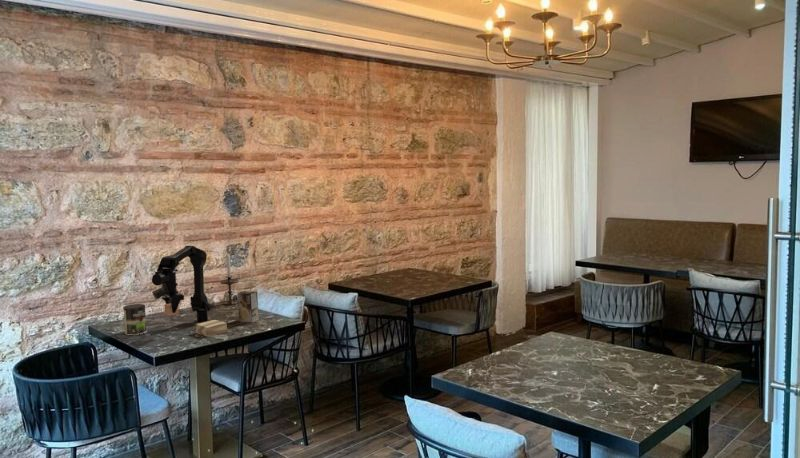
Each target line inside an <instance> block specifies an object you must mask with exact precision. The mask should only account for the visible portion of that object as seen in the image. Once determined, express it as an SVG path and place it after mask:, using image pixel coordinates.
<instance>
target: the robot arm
mask: <svg viewBox="0 0 800 458" xmlns="http://www.w3.org/2000/svg"><path fill="white" fill-rule="evenodd" d="M207 256H208V255H207V252H206V251H205V250H204V249H200V248H198V247H196V246H194V245H185V246H184V247H182V248H181V249H179V250H178V251H176V252H175V253H173V254H170V255H166V256H163V257H161V259H160V261H159V264H158V267H157V268H156V269H157V270H156V271H154V274H153V275H152V277H151V282H152V284H153V285H154V286H161V287H159V288H158V289H155V290H154V291H152V295H153V297H154V298H155V299H156V300H159V299H162V301H164V303H165V304H170V303H171V307H172V312H173V313H175V312H176V310H177V307H178V308H179V304H180V302H181V301H184V300H185V295H183V294H182V293H179V291H178V290H177V289H178V288H177V286H179V284H178V283H177V274H176V273H177V272H178V271H179V269H178V268H177V267H178V266H179V265H180V262H181V261H183V260H185V259H187V257H188V258H189V261H190V264H191V265H192V267H193V285H194V286H193V290H194V292H193V295H192V296H190V302H189V303H190V306H191V310H192V312H196V320H194V322H195V323H196V324H198V323H203V322H207V321H211V319H209V315H208V312H210V311H211V310H212V304H210V302H208V297H207V295H206V293H205V288H204V287H205V285H204V284H205V283H204V282H205V281H204V266H205V264H206V263H207V258H208V257H207Z"/></svg>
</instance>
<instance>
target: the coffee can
mask: <svg viewBox="0 0 800 458" xmlns="http://www.w3.org/2000/svg"><path fill="white" fill-rule="evenodd" d="M123 317H124V318H123V319H124V335H125V334H126V336H129V335H133V336H140V335H143V333H144V334H145V333H147V332H148V331H147V320H146V317H147V316H146V304H144V303H136V304H135V303H134V304H128V305H124V306H123ZM139 334H140V335H139Z"/></svg>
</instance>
